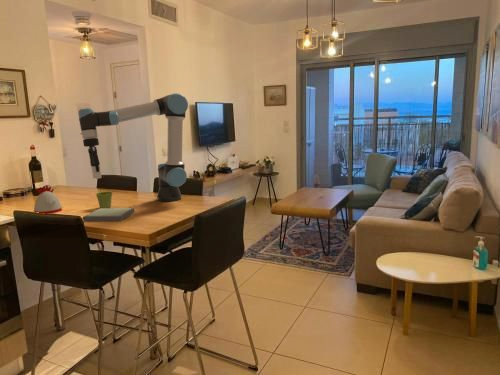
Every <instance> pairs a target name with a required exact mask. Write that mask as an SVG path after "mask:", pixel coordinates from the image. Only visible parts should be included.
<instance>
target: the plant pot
mask: <svg viewBox="0 0 500 375" xmlns="http://www.w3.org/2000/svg"><path fill="white" fill-rule="evenodd" d="M113 194H114V192H113V191H100V192H99V191H98V192H96V193H95V196H96V198H97V201H98V205H99V209H100V208H112V197H113Z"/></svg>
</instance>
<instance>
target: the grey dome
mask: <svg viewBox="0 0 500 375" xmlns="http://www.w3.org/2000/svg"><path fill="white" fill-rule="evenodd" d="M37 192H38V193H39V194H38V196H37V197H36V199H35V200H34V201H35V202H34V207H33V212H39V213H51V214H56V213H59V212H61V211H63V209H62V204H61V202H60V200H59V198H58V197H57V195H55V193H53V192H54V188H52V189H51V186H49V187H48V185H46V186H45V185H43V187H41V186H39V189H37Z"/></svg>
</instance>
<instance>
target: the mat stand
mask: <svg viewBox="0 0 500 375" xmlns="http://www.w3.org/2000/svg"><path fill="white" fill-rule="evenodd" d="M134 213H135V208H132V207H124V208H123V207H118V208H117V207H116V208H114V207H113V208H112V207H110V208H100V207H99V208H98V209H96V210H93V211H91V212H89V213H87V214H86V215H84V216H83V217H82V221H83V220H84V221H83V222H122V221H123V220H125V219H127V218H128V217H130V216H132V214H134Z"/></svg>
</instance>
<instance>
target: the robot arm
mask: <svg viewBox="0 0 500 375" xmlns="http://www.w3.org/2000/svg"><path fill="white" fill-rule="evenodd" d="M188 108H189V103H188V99H187V98H186V96H184V95H183V94H182V93H171V94H168V95H165V96H163V97H160V98H157V99H154V100H152V102H145V103H141V104H136V105H131V106H127V107H121V108H117V109H112V110H107V111H98V112H96V111H94V109H93V108H80V109H79V110H78V112H77V113H78V121H79V126H80V129H81V130H80V131H81V132H80V135H81V136H82V139H83V141H82V142H83V147H86V148H87V147H88V148H87V149H88V151H87V152H88V156H89V162H90V163H89V164H90V166H91V173H92V178H93V179H102V177H103V176H102V173H101V168H100V166H101V165H100V163H101V162H100V159H99V156H98V149H97V146H99V145H100V142H99V138H98V137H99V136H98V130H97V127H107V126H108V127H109V126H117V125H119V123H123V122H128V121H133V120H136V119H137V120H138V119H142V118H145V117H151V116H154V115H156V116H165V118H166V120H167V160H166V161H165V162H164V163H159V164H158V165H157V171H158V172H157V173H158V174H157V176H158V186H159V188H158V192H157V195H156V198H157V199H156V200H157V201H158V202H176V201H179V200H181V199H182V194H181V191H180V188H179V187H181V186H182V185H183V184H185V183H186V181H187V177H188V176H187V174H188V173H187V172H186V170H185V168H186V166H185V163H184V162H183V131H184V130H183V128H184V127H183V123H184V122H183V121H184V120H185V119H186V112H187V110H188Z"/></svg>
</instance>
